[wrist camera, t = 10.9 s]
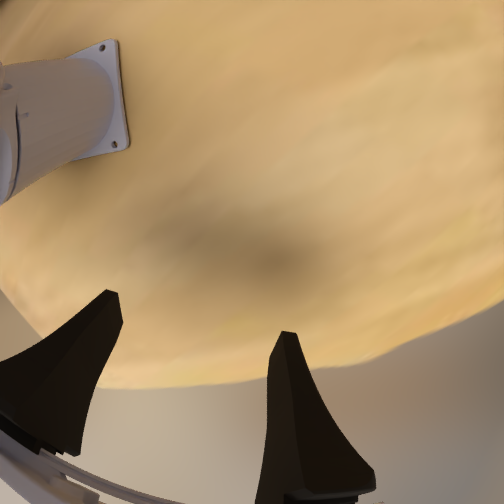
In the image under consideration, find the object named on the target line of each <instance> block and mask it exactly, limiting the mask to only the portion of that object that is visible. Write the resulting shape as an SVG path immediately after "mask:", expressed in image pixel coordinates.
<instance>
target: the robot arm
mask: <svg viewBox="0 0 504 504" xmlns="http://www.w3.org/2000/svg"><path fill="white" fill-rule="evenodd" d="M104 45H105V46H106V47H105V50H104V51H103V50H102V48H103V46H104ZM114 141H116V142H117V144H118V146H117V147H116V146H115V145H114ZM128 146H129V137H128V131H127V125H126V118H125V111H124V104H123V96H122V88H121V78H120V68H119V56H118V43H117V41H116V40H115V39H108V40H105V41H103V42H100V43H98V44H95V45H93V46H90V47H88V48H86V49H84V50H81V51H79V52H77V53H75V54H73V55H71V56H68V57H66V58H64V59H52V60H41V61H32V62H24V63H18V64H11V65H6V66H3V65H2V63H1V62H0V206H1V205H2V204H3V203H5V202H6V201H8V200H9V199H11V198H12V197H13V196H15V195H16V194H18V193H19V192H20V191H22V190H23V189H25V188H26V187H28V186H29V185H31V184H32V183H34V182H36V181H37V180H39V179H40V178H42V177H43V176H45V175H47V174H48V173H50V172H52V171H53V170H55V169H57V168H58V167H60V166H62V165H64V164H65V163H67V162H71V161H75V160H79V159H83V158H88V157H92V156H97V155H101V154H106V153H111V152H116V151H121V150H124V149H126V148H127V147H128ZM122 325H123V319H122V314H121V308H120V303H119V297H118V293H117V292H114V291H110V290H107V289H106V290H104V291H103V292H102V293H101V294H100V295H98V296H97V297H96V298H95V299H94V300H93V301H91V302H90V303H89V304H88V305H87V306H85V307H84V308H83V309H82V310H81V311H80V312H78V313H77V314H76V315H75V316H74V317H72V318H71V319H70V320H69V321H67V322H66V323H65V324H64V325H62V326H61V327H60V328H58V329H57V330H56V331H54V332H53V333H52V334H50V335H49V336H47V337H46V338H44V339H43V340H41V341H40V342H39V343H37V344H35V345H33V346H32V347H30V348H28V349H26V350H25V351H23V352H21V353H19V354H17V355H15V356H13V357H10V358H8V359H6V360H4V361H1V362H0V478H1V479H2V480H4V482H6V483H7V484H8V485H9V486H10V487H11V488H12V489H13V490H15V491H16V492H17V493H18V494H19V495H21V496H22V497H23V498H24V499H25V500H27V501H28V502H29V503H31V504H105V503H103V502H100V501H98V500H99V496H100V495H99V494H98V493H95V492H93V491H91V490H89V489H87V488H85V487H83V486H81V485H78V484H76V483H74V482H71V481H69V480H67V478H66V476H65V475H67V476H69V477H71V478H73V479H75V480H77V481H79V482H81V483H83V484H86V485H88V486H90V487H92V488H95V489H97V490H99V491H102V492H104V493H107V494H109V495H112V496H114V497H117V498H120V499H122V500H125V501H128V502H131V503H134V504H184V503H179V502H175V501H170V500H167V499H163V498H159V497H155V496H151V495H148V494H145V493H142V492H138V491H135V490H132V489H129V488H126V487H124V486H121V485H118V484H115V483H112V482H110V481H108V480H105V479H103V478H100V477H98V476H96V475H93V474H91V473H88V472H87V471H84V470H82V469H80V468H78V467H76V466H74V465H72V464H70V463H68V462H66V461H64V460H62V459H60V458H58V457H57V456H55V454H56V452H58V453H60V454H61V455H63V454H64V452H66V453H68V454H70V455H72V456H74V457H75V456H78V455H80V453H81V444H82V437H83V432H84V427H85V422H86V417H87V413H88V409H89V405H90V402H91V399H92V396H93V392H94V389H95V386H96V384H97V381H98V379H99V377H100V375H101V373H102V370H103V368H104V366H105V364H106V362H107V360H108V358H109V356H110V354H111V352H112V350H113V348H114V346H115V344H116V342H117V339H118V336H119V333H120V330H121V328H122ZM375 489H376V479H375V474H374V470H373V469H372V468H371V467H370V466H369V465H368V464H367V463H366V462H365V461H364V459H363V458H362V457H361V456H360V455H359V454H358V453H357V451H356V450H355V449H354V448H353V447H352V445H351V444H350V443H349V441H348V440H347V439H346V437H345V436H344V434H343V433H342V432H341V430H340V429H339V427H338V426H337V424H336V423H335V421H334V420H333V418H332V416H331V414H330V413H329V411H328V409H327V407H326V406H325V404H324V402H323V400H322V398H321V396H320V394H319V392H318V390H317V387H316V385H315V383H314V381H313V378H312V376H311V373H310V371H309V368H308V366H307V363H306V360H305V358H304V355H303V352H302V349H301V346H300V343H299V339H298V336H297V334H296V333H293V332H287V331H282V332H281V334H280V336H279V338H278V340H277V342H276V344H275V347H274V349H273V351H272V353H271V355H270V358H269V366H268V375H267V433H266V440H265V448H264V455H263V463H262V469H261V474H260V480H259V485H258V490H257V494H256V499H255V504H355V502H358V495H361V494H365V493H369V492H372V491H374V490H375ZM375 504H384V502H379V503H375Z"/></svg>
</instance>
